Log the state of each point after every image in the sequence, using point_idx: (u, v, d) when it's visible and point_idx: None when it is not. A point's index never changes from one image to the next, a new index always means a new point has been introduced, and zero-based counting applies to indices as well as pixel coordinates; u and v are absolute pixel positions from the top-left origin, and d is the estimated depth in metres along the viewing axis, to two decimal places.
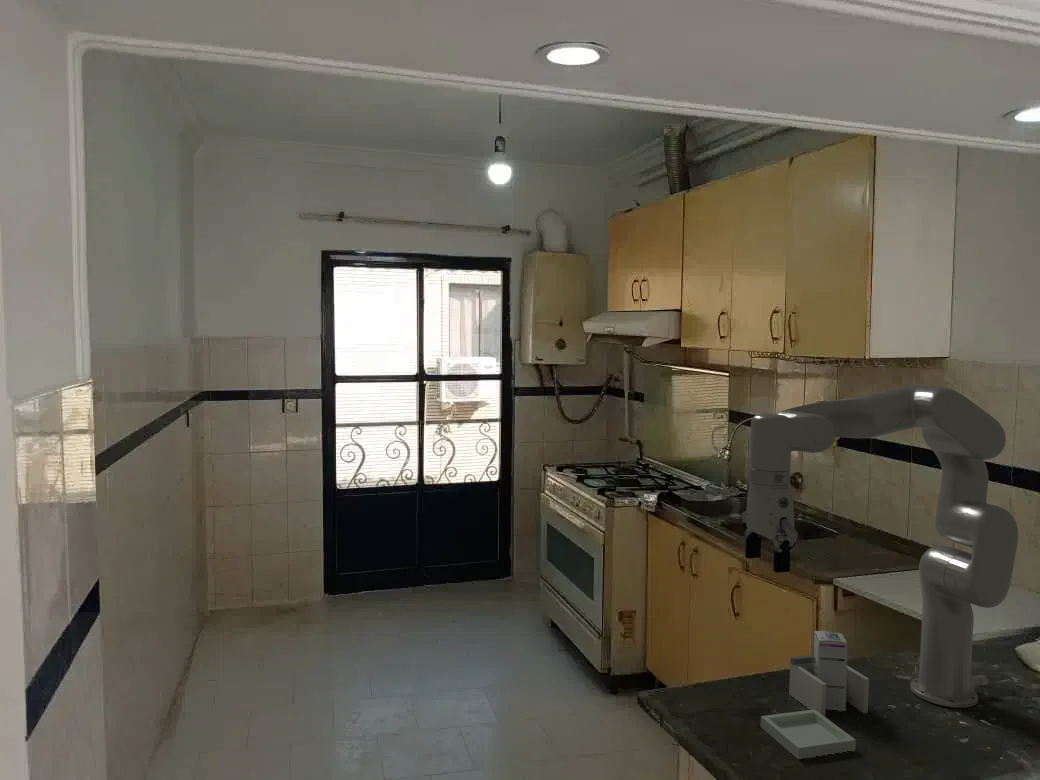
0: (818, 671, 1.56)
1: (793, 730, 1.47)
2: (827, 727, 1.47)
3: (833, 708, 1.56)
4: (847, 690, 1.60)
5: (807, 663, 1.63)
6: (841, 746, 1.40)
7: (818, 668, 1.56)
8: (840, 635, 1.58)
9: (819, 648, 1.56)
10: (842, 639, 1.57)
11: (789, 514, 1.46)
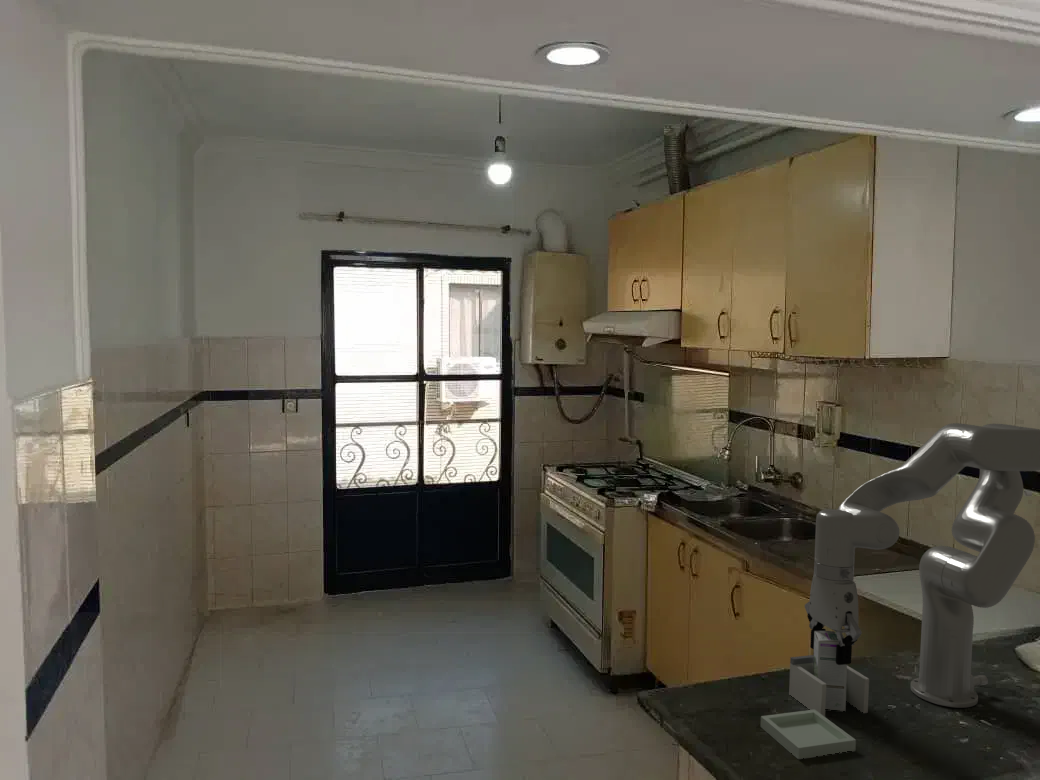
0: (818, 671, 1.56)
1: (793, 730, 1.47)
2: (827, 727, 1.47)
3: (833, 708, 1.56)
4: (847, 690, 1.60)
5: (807, 663, 1.63)
6: (841, 746, 1.40)
7: (818, 668, 1.56)
8: None
9: (819, 648, 1.56)
10: None
11: (854, 608, 1.53)
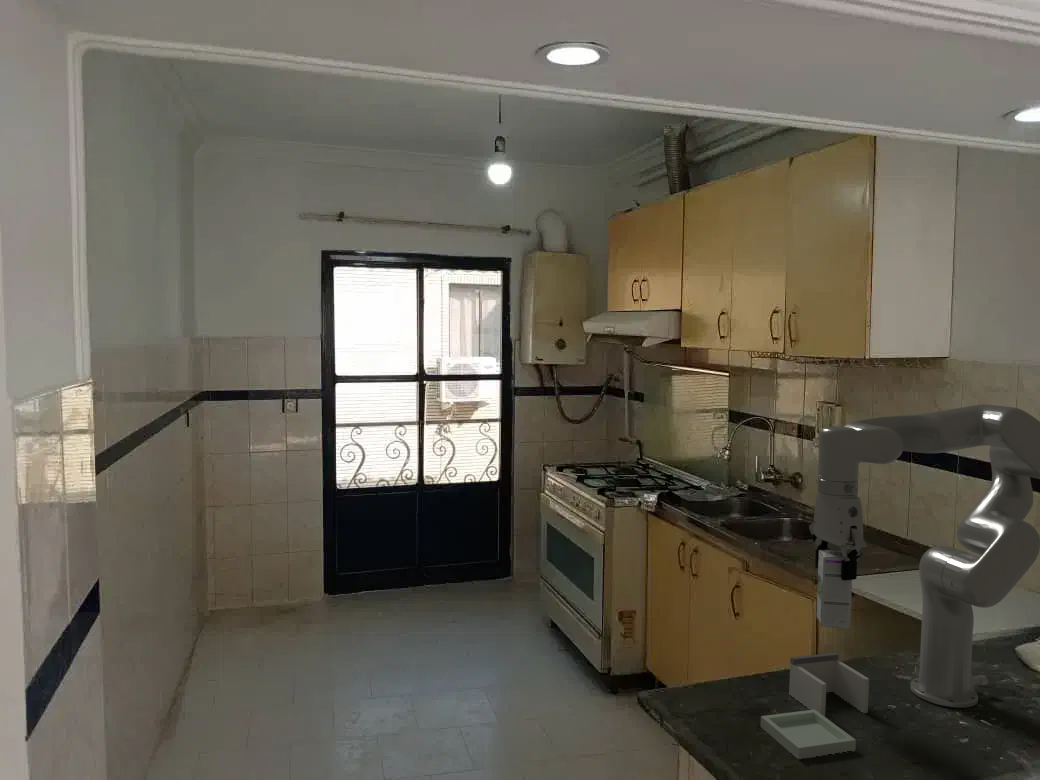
0: (823, 588, 1.55)
1: (793, 730, 1.47)
2: (827, 727, 1.47)
3: (838, 625, 1.55)
4: (847, 690, 1.60)
5: (807, 663, 1.63)
6: (841, 746, 1.40)
7: (823, 585, 1.55)
8: None
9: (824, 564, 1.55)
10: None
11: (858, 523, 1.52)
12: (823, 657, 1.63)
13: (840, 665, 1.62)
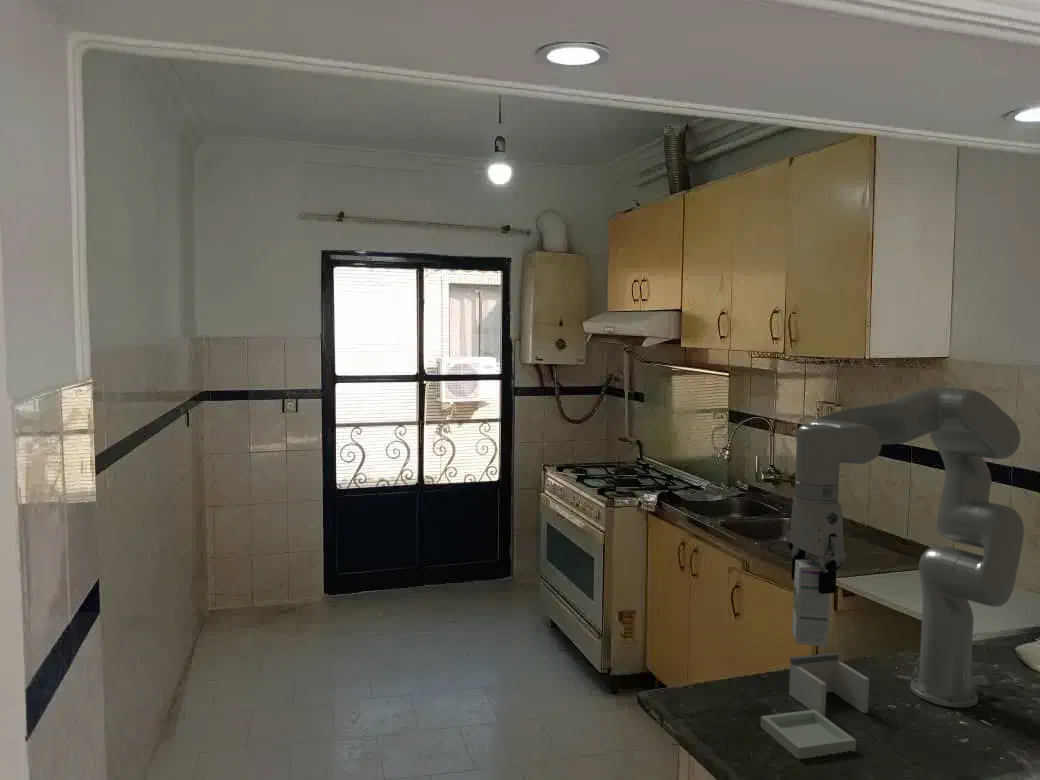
0: (799, 601, 1.41)
1: (793, 730, 1.47)
2: (827, 727, 1.47)
3: (814, 643, 1.41)
4: (847, 690, 1.60)
5: (807, 663, 1.63)
6: (841, 746, 1.40)
7: (799, 598, 1.41)
8: None
9: (800, 576, 1.41)
10: None
11: (838, 530, 1.38)
12: (823, 657, 1.63)
13: (840, 665, 1.62)
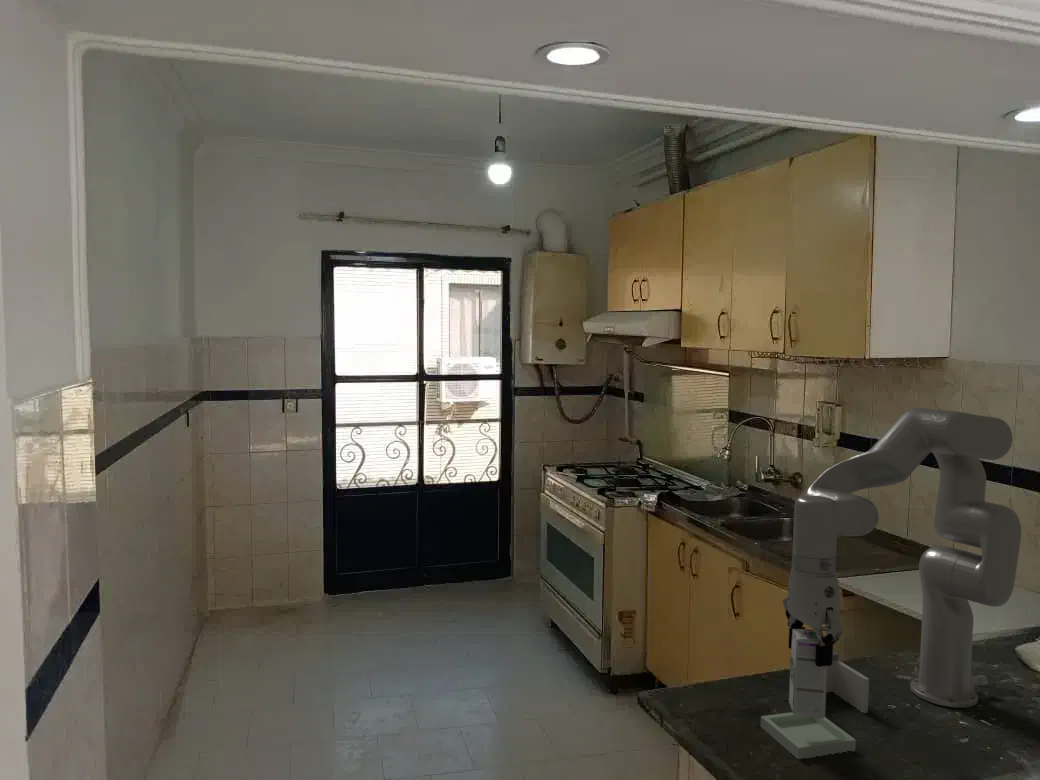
0: (795, 673, 1.42)
1: (793, 730, 1.47)
2: (827, 727, 1.47)
3: (811, 714, 1.42)
4: (847, 690, 1.60)
5: None
6: (841, 746, 1.40)
7: (795, 669, 1.42)
8: None
9: (797, 647, 1.42)
10: None
11: (835, 604, 1.39)
12: None
13: (840, 665, 1.62)
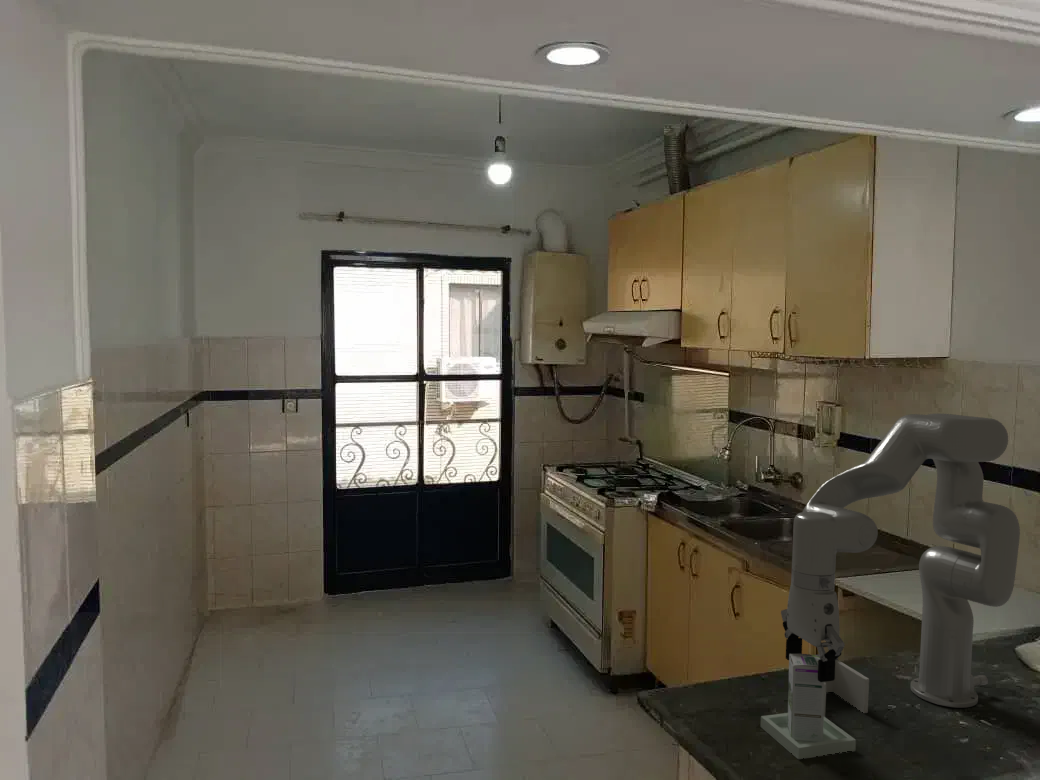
0: (793, 699, 1.43)
1: None
2: (827, 727, 1.47)
3: (809, 739, 1.43)
4: (847, 690, 1.60)
5: None
6: (841, 746, 1.40)
7: (793, 695, 1.43)
8: (817, 659, 1.45)
9: (794, 673, 1.42)
10: None
11: (834, 621, 1.39)
12: None
13: (840, 665, 1.62)
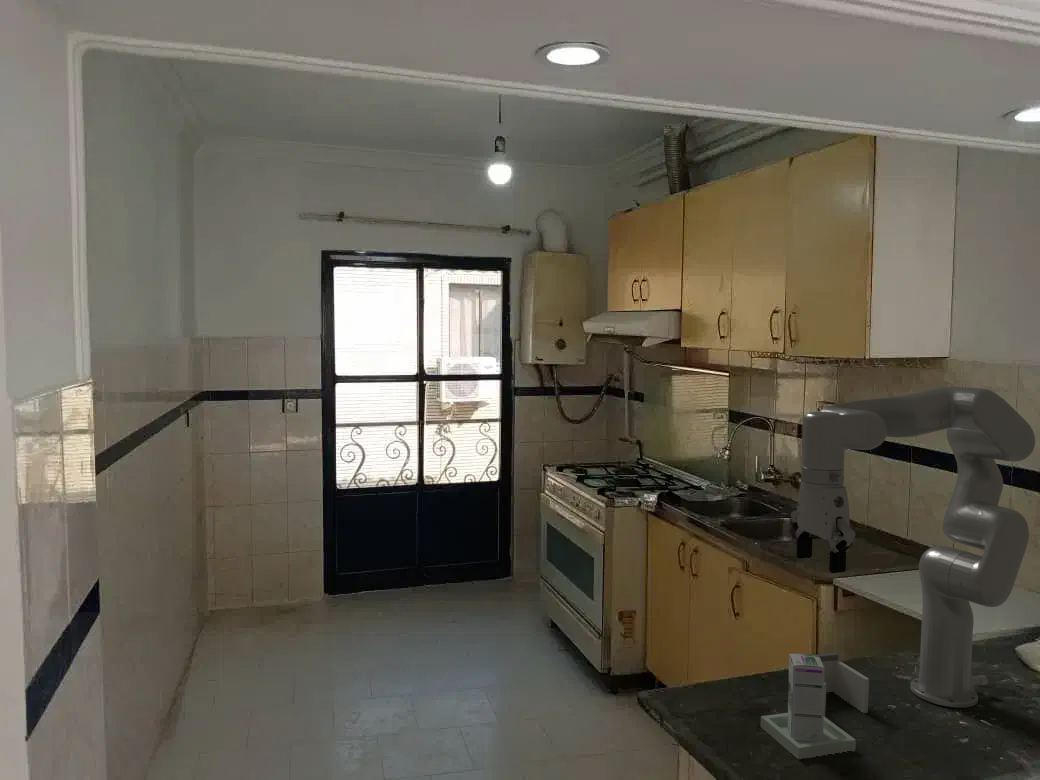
0: (793, 699, 1.43)
1: None
2: (827, 727, 1.47)
3: (809, 739, 1.43)
4: (847, 690, 1.60)
5: None
6: (841, 746, 1.40)
7: (793, 695, 1.43)
8: (817, 659, 1.45)
9: (794, 673, 1.42)
10: (819, 663, 1.43)
11: (845, 513, 1.43)
12: (823, 657, 1.63)
13: (840, 665, 1.62)
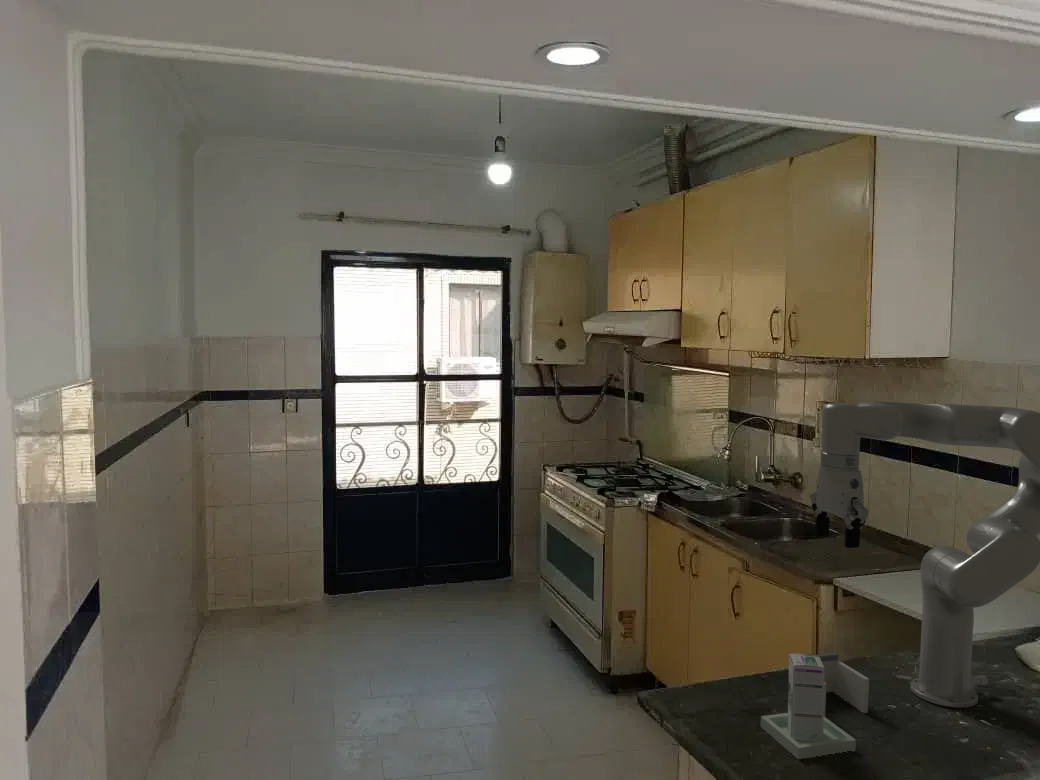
0: (793, 699, 1.43)
1: None
2: (827, 727, 1.47)
3: (809, 739, 1.43)
4: (847, 690, 1.60)
5: None
6: (841, 746, 1.40)
7: (793, 695, 1.43)
8: (817, 659, 1.45)
9: (794, 673, 1.42)
10: (819, 663, 1.43)
11: (859, 494, 1.59)
12: (823, 657, 1.63)
13: (840, 665, 1.62)
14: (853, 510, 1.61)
